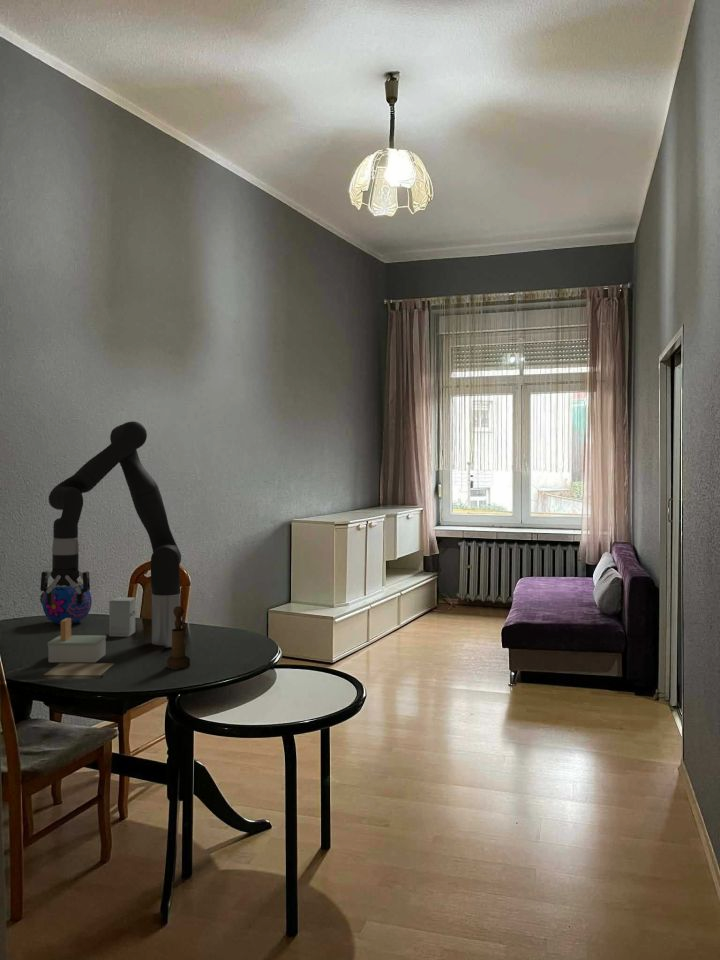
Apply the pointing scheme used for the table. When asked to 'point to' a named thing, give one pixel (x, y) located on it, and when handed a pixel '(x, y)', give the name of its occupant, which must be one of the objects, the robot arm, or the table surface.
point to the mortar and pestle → (178, 643)
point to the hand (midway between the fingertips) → (65, 605)
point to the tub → (76, 653)
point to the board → (78, 670)
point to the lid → (74, 637)
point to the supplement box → (122, 617)
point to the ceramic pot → (66, 604)
